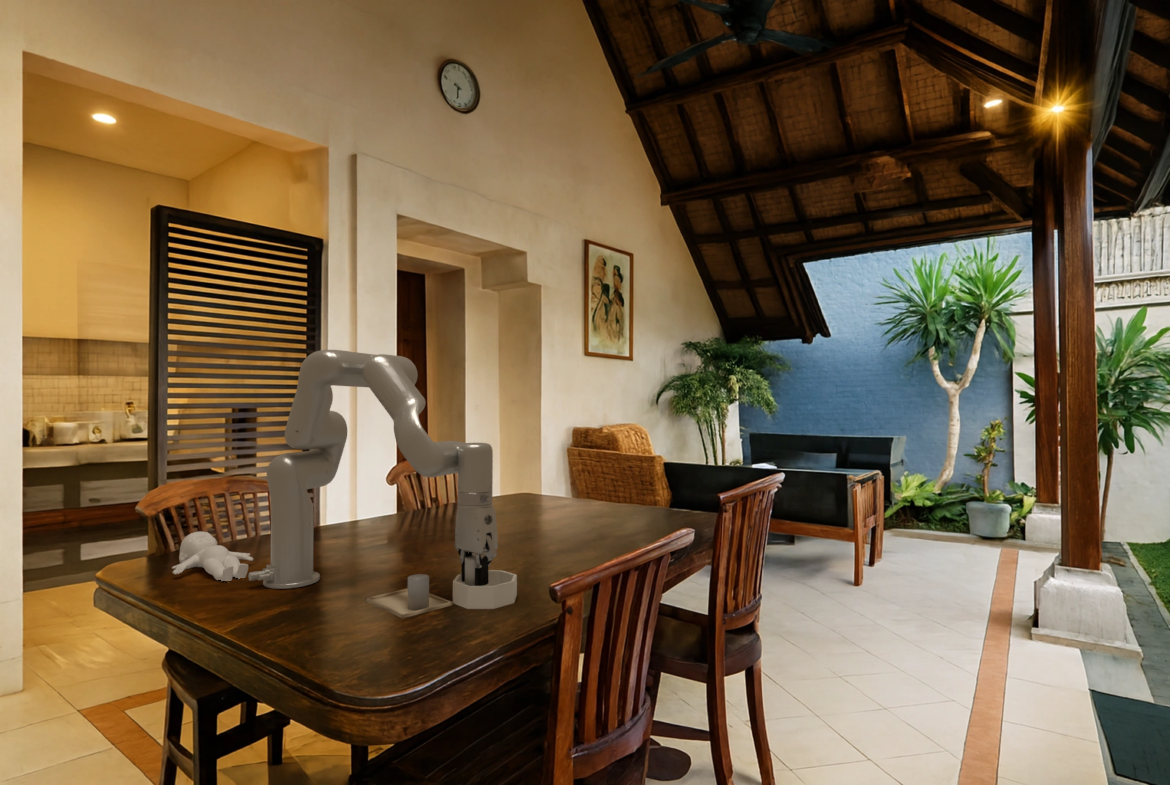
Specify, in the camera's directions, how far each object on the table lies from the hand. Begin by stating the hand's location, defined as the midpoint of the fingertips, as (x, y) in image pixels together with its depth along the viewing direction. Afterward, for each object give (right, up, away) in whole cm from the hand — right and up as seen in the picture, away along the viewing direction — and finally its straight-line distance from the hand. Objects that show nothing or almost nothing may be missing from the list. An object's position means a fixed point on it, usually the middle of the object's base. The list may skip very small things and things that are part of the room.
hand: (474, 582), depth 140 cm
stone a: (0, -1, 0) cm, 1 cm away
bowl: (+2, -5, +2) cm, 5 cm away
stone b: (-11, -4, -4) cm, 13 cm away
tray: (-14, -5, -1) cm, 15 cm away
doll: (-73, -6, +27) cm, 78 cm away
